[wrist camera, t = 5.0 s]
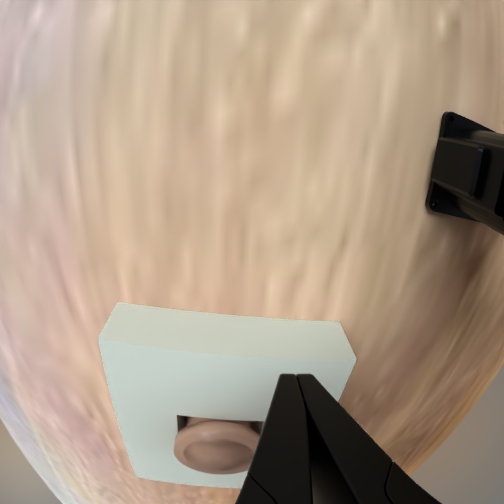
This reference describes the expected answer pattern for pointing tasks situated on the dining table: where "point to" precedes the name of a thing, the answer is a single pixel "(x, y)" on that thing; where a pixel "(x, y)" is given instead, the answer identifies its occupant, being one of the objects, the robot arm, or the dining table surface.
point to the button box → (206, 376)
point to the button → (216, 445)
